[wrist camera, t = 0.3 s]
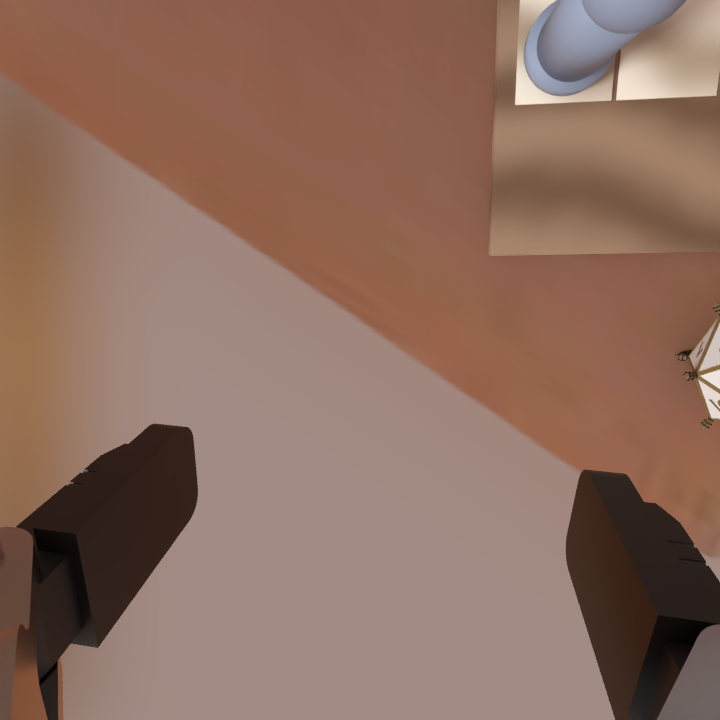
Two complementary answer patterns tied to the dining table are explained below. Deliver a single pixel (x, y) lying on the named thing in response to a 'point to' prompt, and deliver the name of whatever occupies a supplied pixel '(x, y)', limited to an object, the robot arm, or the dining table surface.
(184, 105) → the dining table surface
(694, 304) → the dining table surface
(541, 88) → the pawn
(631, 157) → the game board
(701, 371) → the game die
